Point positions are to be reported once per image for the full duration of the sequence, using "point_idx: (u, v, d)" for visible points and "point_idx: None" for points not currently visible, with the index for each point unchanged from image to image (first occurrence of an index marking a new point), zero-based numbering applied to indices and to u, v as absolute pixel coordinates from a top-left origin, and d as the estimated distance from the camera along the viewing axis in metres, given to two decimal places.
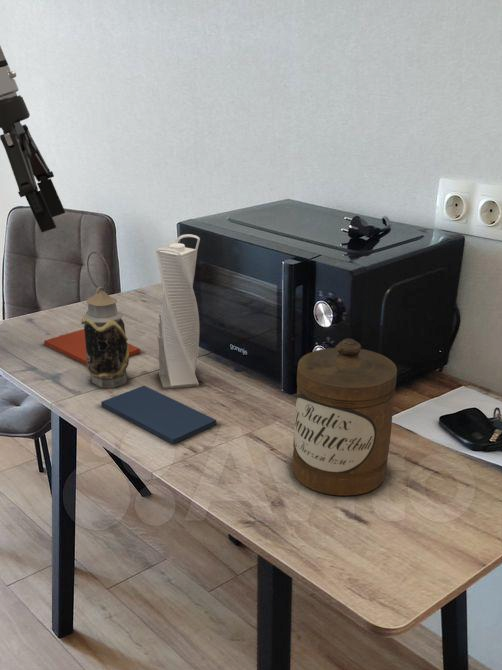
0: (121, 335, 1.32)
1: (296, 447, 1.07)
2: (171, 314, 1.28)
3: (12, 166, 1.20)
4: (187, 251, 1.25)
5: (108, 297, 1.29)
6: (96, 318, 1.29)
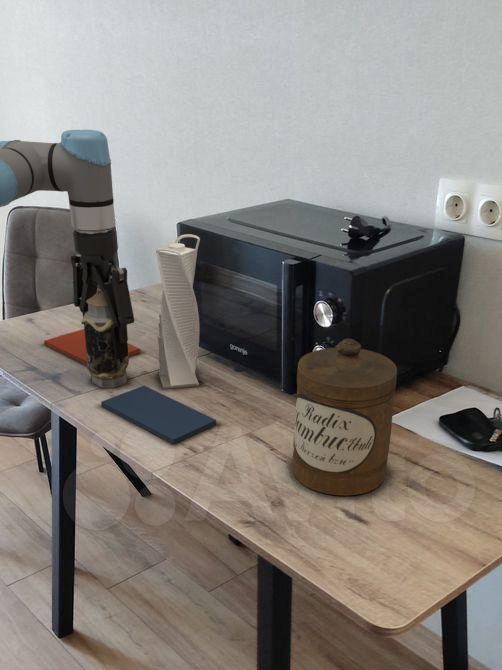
0: None
1: (296, 447, 1.07)
2: (171, 314, 1.28)
3: (120, 300, 1.24)
4: (187, 251, 1.25)
5: None
6: (96, 318, 1.29)
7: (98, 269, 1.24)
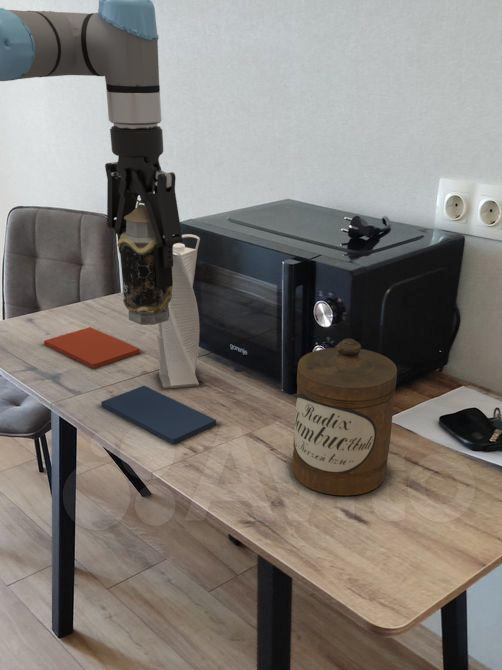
0: None
1: (296, 447, 1.07)
2: (171, 314, 1.28)
3: (166, 213, 1.03)
4: (187, 251, 1.25)
5: None
6: (136, 238, 1.08)
7: (140, 175, 1.03)
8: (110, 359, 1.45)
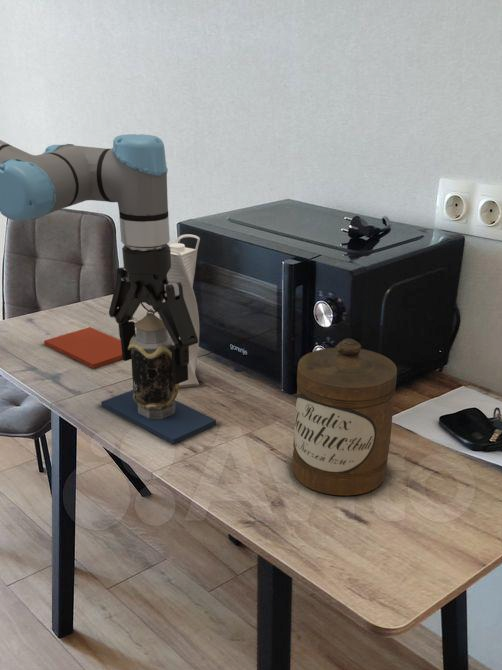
0: None
1: (296, 447, 1.07)
2: None
3: (179, 318, 1.10)
4: (187, 251, 1.25)
5: (159, 320, 1.17)
6: (146, 344, 1.16)
7: (149, 288, 1.12)
8: (110, 359, 1.45)
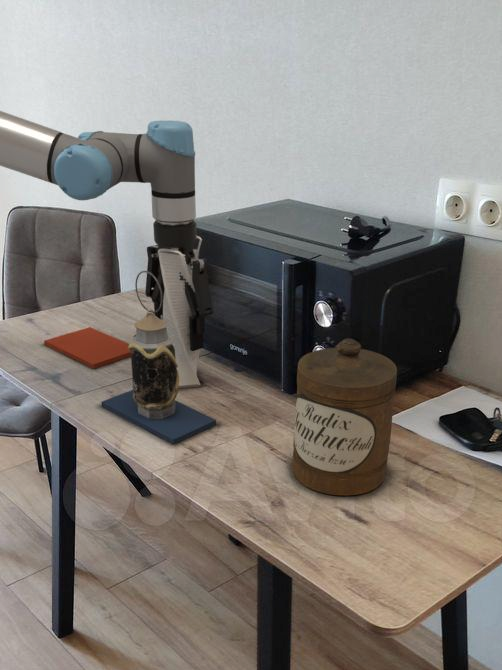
0: (172, 362, 1.19)
1: (296, 447, 1.07)
2: (173, 315, 1.28)
3: (200, 291, 1.24)
4: None
5: (158, 320, 1.17)
6: (146, 344, 1.16)
7: None
8: (110, 359, 1.45)
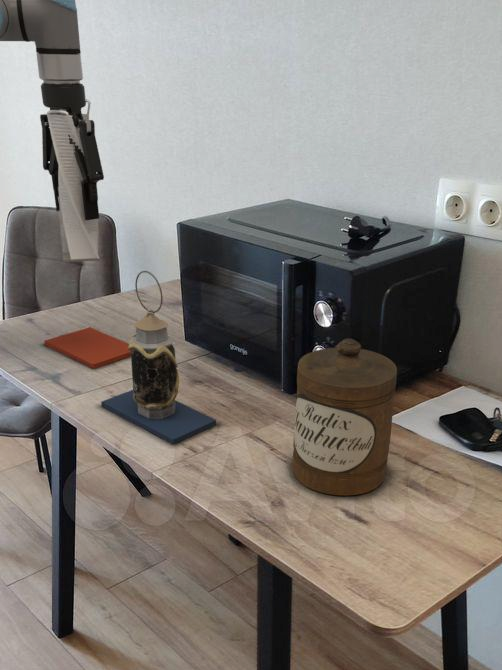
0: (172, 362, 1.19)
1: (296, 447, 1.07)
2: (65, 180, 1.30)
3: (88, 154, 1.26)
4: None
5: (158, 320, 1.17)
6: (146, 344, 1.16)
7: None
8: (110, 359, 1.45)
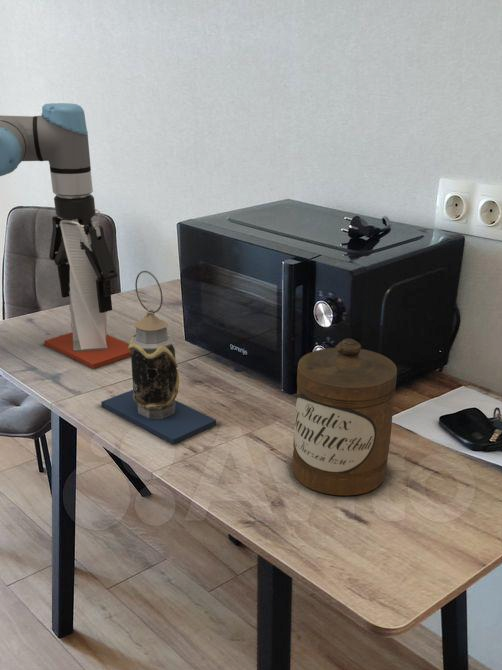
0: (172, 362, 1.19)
1: (296, 447, 1.07)
2: (76, 281, 1.40)
3: (100, 255, 1.35)
4: None
5: (158, 320, 1.17)
6: (146, 344, 1.16)
7: None
8: (110, 359, 1.45)
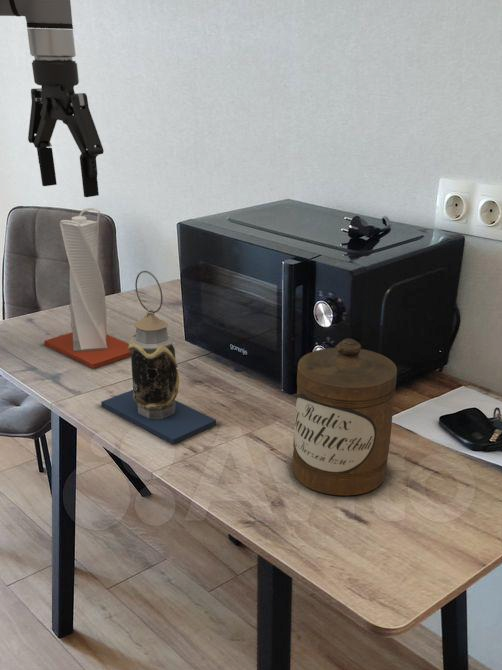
0: (172, 362, 1.19)
1: (296, 447, 1.07)
2: (76, 281, 1.40)
3: (84, 126, 1.20)
4: (88, 223, 1.36)
5: (158, 320, 1.17)
6: (146, 344, 1.16)
7: (58, 101, 1.22)
8: (110, 359, 1.45)
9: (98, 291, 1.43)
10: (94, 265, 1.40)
